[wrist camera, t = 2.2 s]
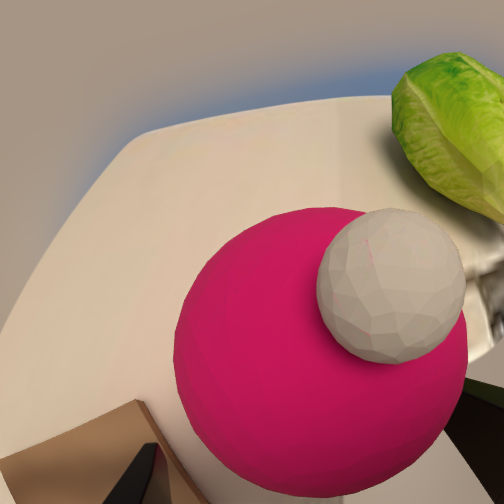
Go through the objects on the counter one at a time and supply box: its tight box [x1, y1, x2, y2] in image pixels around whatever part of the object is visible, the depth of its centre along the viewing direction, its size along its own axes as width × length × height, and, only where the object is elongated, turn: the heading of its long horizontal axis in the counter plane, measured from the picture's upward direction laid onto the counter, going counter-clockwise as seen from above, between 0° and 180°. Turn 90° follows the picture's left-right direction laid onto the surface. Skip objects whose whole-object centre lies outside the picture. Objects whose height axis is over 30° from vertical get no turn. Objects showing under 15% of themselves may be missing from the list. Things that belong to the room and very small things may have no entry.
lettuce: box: [392, 52, 504, 225], centre depth 26 cm, size 17×20×15 cm
